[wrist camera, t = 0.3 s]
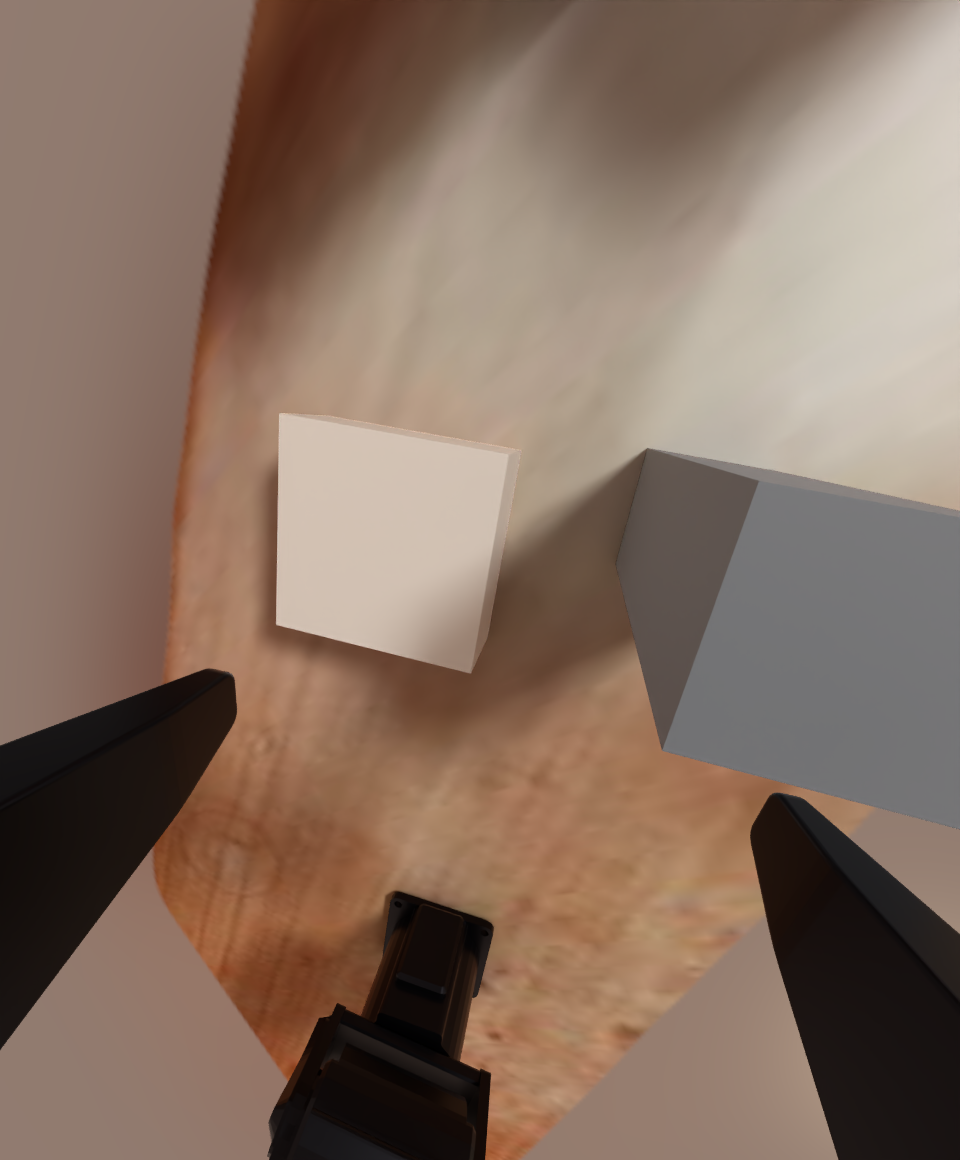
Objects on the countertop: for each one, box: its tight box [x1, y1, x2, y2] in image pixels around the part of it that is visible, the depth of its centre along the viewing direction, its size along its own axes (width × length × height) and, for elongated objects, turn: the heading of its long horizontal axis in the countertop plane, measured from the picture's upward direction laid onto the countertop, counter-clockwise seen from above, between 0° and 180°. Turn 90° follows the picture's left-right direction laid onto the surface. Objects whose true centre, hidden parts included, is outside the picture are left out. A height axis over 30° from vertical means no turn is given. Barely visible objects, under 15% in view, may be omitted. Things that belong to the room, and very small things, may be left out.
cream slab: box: [276, 413, 522, 674], centre depth 21 cm, size 9×9×4 cm
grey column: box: [616, 448, 960, 829], centre depth 14 cm, size 5×5×13 cm
